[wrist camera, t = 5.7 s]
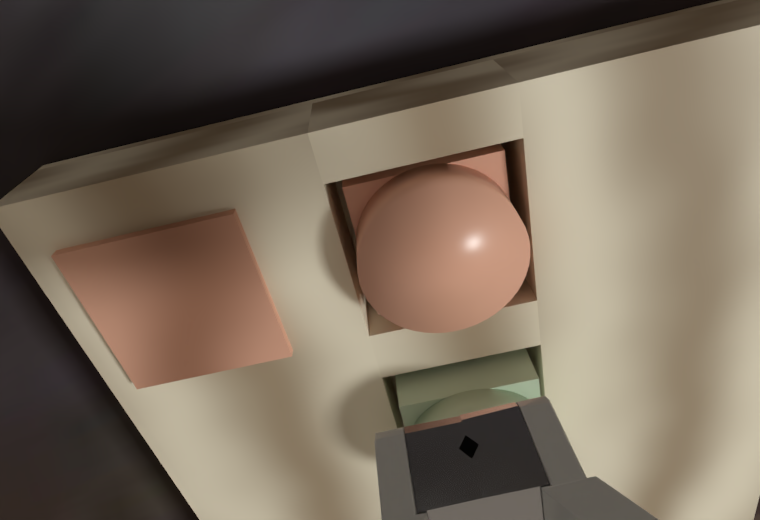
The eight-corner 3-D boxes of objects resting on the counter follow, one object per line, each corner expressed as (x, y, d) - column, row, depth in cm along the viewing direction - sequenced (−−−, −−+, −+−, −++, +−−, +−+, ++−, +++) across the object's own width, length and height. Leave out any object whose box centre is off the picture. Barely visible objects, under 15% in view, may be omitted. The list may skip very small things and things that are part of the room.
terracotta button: (372, 281, 19) (378, 347, 16) (338, 157, 16) (337, 208, 13) (505, 252, 18) (536, 314, 15) (490, 122, 16) (523, 166, 13)
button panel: (275, 557, 28) (268, 628, 25) (43, 165, 16) (-19, 215, 14) (710, 476, 26) (754, 541, 24) (791, -17, 15) (895, -4, 12)
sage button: (415, 447, 21) (426, 531, 18) (390, 361, 19) (399, 441, 16) (532, 424, 21) (563, 505, 18) (523, 333, 18) (557, 410, 15)
